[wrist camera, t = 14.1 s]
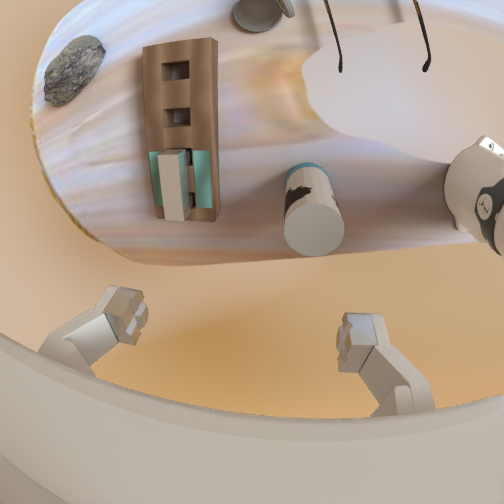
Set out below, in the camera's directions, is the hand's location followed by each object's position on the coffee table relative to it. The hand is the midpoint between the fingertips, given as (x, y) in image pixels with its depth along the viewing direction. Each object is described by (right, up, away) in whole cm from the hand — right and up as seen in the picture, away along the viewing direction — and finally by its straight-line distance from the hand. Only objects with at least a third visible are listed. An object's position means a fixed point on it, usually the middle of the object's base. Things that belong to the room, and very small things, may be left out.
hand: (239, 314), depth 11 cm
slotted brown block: (-10, +21, +29) cm, 37 cm away
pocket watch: (+3, +36, +17) cm, 40 cm away
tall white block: (-10, +15, +33) cm, 37 cm away
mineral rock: (-30, +35, +23) cm, 51 cm away
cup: (+9, +13, +32) cm, 35 cm away
